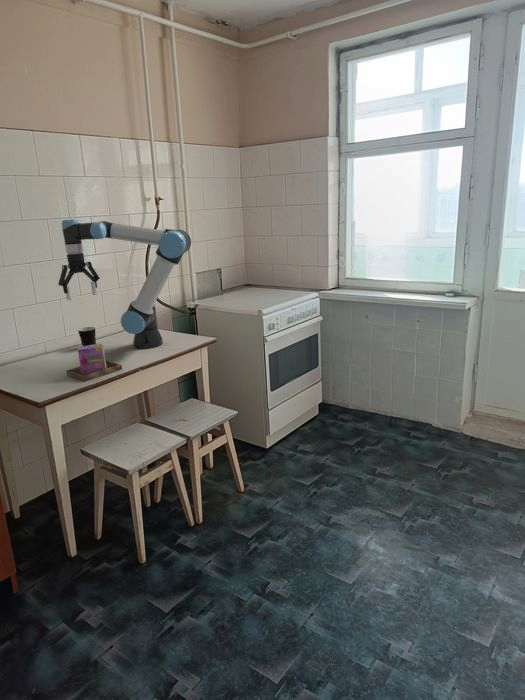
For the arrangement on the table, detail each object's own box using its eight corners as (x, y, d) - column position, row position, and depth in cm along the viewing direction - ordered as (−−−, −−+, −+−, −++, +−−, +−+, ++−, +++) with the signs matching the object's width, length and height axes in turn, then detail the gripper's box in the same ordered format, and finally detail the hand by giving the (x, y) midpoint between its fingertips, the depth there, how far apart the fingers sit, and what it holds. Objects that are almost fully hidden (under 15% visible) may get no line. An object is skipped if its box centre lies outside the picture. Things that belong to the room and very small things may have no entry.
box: (81, 375, 216) (77, 349, 213) (82, 371, 222) (78, 346, 218) (106, 372, 219) (102, 346, 216) (106, 368, 224) (103, 343, 221)
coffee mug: (94, 349, 257) (91, 330, 254) (78, 350, 257) (75, 331, 254) (102, 343, 268) (99, 325, 265) (86, 343, 268) (83, 325, 265)
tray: (104, 363, 232) (103, 359, 231) (122, 369, 222) (121, 364, 222) (67, 375, 219) (66, 370, 218) (83, 381, 209) (83, 376, 209)
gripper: (94, 250, 246) (101, 292, 252) (45, 255, 228) (53, 301, 235) (102, 250, 241) (109, 293, 247) (53, 256, 224) (61, 302, 230)
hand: (82, 297), depth 241 cm, fingers open, 13 cm apart
